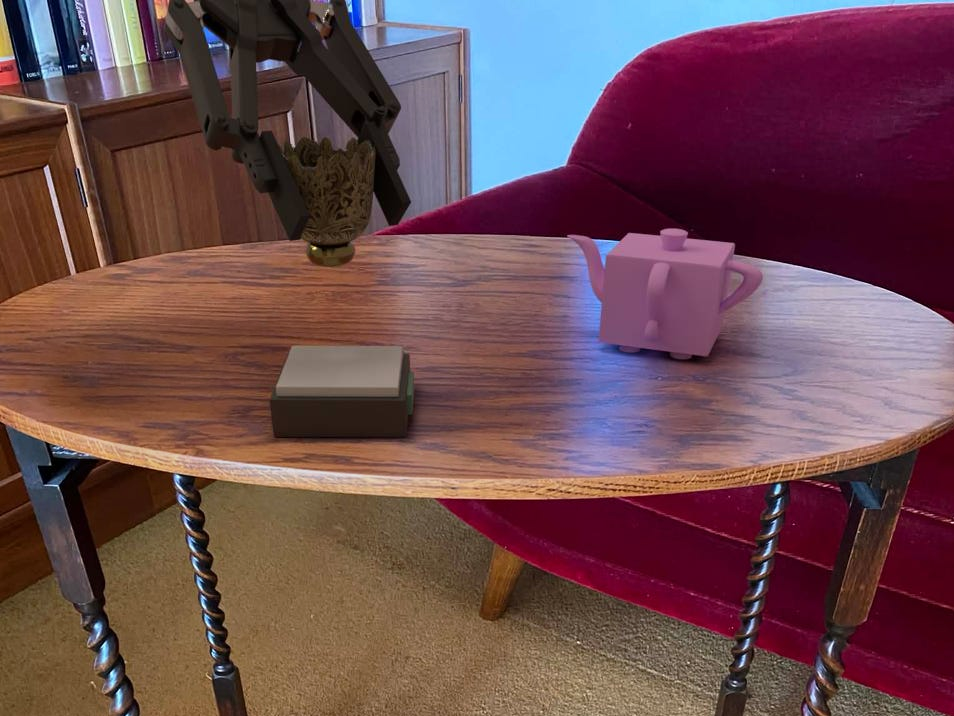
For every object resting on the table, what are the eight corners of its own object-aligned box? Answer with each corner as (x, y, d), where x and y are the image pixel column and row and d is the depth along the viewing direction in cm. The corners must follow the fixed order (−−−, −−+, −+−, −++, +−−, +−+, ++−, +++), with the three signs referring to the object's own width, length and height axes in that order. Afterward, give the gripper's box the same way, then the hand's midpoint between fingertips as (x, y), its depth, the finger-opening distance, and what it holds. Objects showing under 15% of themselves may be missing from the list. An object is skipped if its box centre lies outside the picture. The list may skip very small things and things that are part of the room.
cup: (264, 271, 70) (251, 150, 65) (302, 246, 76) (292, 133, 71) (362, 279, 69) (355, 156, 64) (393, 253, 74) (389, 138, 70)
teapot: (541, 352, 88) (547, 236, 83) (581, 309, 99) (589, 203, 93) (739, 379, 84) (760, 257, 78) (758, 331, 94) (778, 220, 88)
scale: (273, 437, 72) (267, 388, 70) (291, 387, 81) (286, 343, 78) (411, 437, 73) (410, 389, 70) (415, 388, 81) (414, 343, 79)
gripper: (330, -20, 77) (447, 234, 76) (75, -20, 67) (206, 273, 66) (361, -105, 71) (489, 172, 70) (83, -119, 61) (229, 204, 60)
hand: (351, 220), depth 68 cm, fingers closed on cup, 7 cm apart
